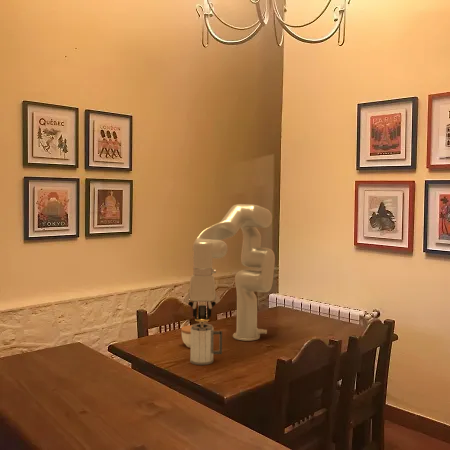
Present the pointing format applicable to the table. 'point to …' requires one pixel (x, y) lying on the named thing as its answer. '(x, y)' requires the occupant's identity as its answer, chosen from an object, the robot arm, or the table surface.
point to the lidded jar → (186, 335)
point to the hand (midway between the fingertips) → (201, 317)
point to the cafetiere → (203, 344)
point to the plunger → (201, 314)
